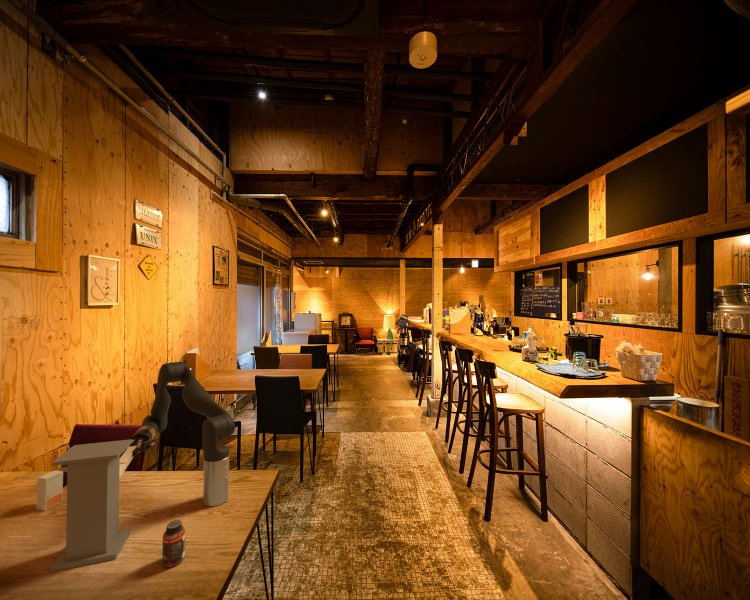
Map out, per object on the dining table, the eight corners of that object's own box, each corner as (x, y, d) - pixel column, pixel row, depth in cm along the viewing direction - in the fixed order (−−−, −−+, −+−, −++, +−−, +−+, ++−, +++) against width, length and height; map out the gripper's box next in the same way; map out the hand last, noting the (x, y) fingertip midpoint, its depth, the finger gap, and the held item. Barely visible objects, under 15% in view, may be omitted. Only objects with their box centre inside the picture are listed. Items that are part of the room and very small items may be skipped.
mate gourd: (69, 488, 139) (69, 452, 139) (50, 487, 139) (51, 452, 139) (85, 478, 146) (85, 444, 146) (67, 478, 146) (68, 444, 146)
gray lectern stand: (130, 533, 113) (132, 439, 113) (115, 559, 101) (117, 454, 101) (72, 543, 107) (74, 445, 108) (49, 572, 96) (51, 462, 96)
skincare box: (44, 511, 124) (45, 479, 124) (36, 509, 124) (36, 477, 124) (63, 501, 130) (63, 471, 130) (54, 500, 130) (55, 469, 130)
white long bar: (137, 451, 136) (137, 445, 136) (111, 490, 113) (111, 483, 113) (128, 452, 135) (128, 446, 135) (101, 491, 112) (100, 484, 112)
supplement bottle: (189, 556, 103) (190, 519, 103) (172, 570, 97) (172, 532, 97) (175, 551, 105) (175, 515, 105) (157, 565, 99) (158, 527, 99)
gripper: (124, 430, 144) (106, 447, 128) (161, 427, 149) (148, 443, 132) (124, 447, 144) (106, 467, 128) (161, 443, 149) (148, 462, 132)
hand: (127, 454), depth 130 cm, fingers closed on white long bar, 3 cm apart
